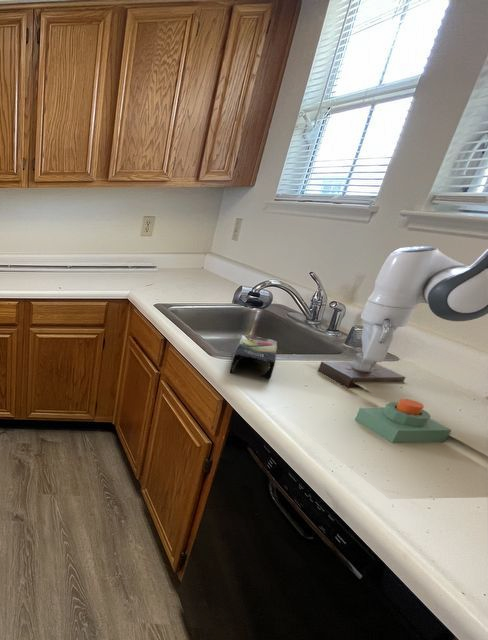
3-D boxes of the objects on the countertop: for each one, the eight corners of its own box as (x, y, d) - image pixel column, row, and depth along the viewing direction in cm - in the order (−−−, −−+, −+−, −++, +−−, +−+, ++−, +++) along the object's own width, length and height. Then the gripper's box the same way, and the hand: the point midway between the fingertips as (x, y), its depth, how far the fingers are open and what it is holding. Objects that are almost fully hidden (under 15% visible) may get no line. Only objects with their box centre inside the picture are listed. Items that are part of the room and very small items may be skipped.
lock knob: (351, 363, 111) (357, 350, 109) (372, 368, 108) (378, 354, 107) (351, 369, 108) (356, 355, 106) (373, 373, 105) (379, 360, 104)
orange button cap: (407, 407, 87) (411, 398, 86) (424, 416, 84) (429, 407, 83) (390, 407, 87) (395, 398, 86) (407, 416, 84) (411, 407, 83)
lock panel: (366, 370, 114) (371, 360, 113) (400, 387, 105) (406, 376, 104) (317, 371, 114) (321, 360, 112) (347, 388, 105) (352, 377, 103)
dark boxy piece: (235, 349, 127) (240, 330, 124) (272, 357, 122) (279, 337, 119) (227, 373, 112) (233, 353, 109) (269, 383, 107) (277, 362, 104)
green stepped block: (402, 418, 92) (412, 399, 90) (444, 442, 84) (456, 421, 81) (354, 419, 91) (363, 399, 89) (391, 443, 83) (402, 422, 81)
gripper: (407, 328, 93) (381, 383, 99) (399, 307, 107) (377, 356, 113) (371, 322, 96) (348, 376, 102) (367, 303, 111) (347, 351, 117)
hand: (363, 365), depth 108 cm, fingers closed on lock knob, 4 cm apart
